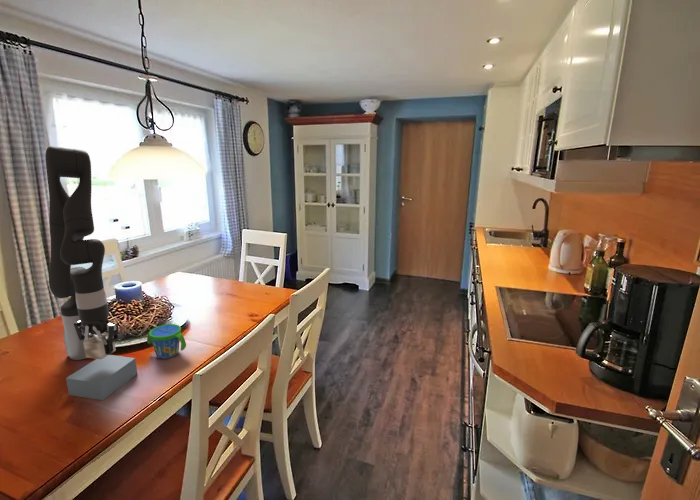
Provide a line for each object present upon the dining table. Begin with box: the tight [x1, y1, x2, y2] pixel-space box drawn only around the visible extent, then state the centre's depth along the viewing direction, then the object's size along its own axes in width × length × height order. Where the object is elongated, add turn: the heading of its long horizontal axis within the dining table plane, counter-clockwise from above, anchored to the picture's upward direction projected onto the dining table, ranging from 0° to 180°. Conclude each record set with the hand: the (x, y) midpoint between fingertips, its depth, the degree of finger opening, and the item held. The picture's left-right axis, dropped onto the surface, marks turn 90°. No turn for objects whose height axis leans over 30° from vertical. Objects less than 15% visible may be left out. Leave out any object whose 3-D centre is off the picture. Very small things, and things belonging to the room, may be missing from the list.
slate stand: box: [65, 354, 138, 401], centre depth 113 cm, size 12×14×6 cm
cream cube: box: [83, 333, 117, 360], centre depth 110 cm, size 6×6×6 cm
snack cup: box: [146, 323, 187, 360], centre depth 130 cm, size 16×10×10 cm
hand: (100, 352), depth 111 cm, fingers closed on cream cube, 5 cm apart
